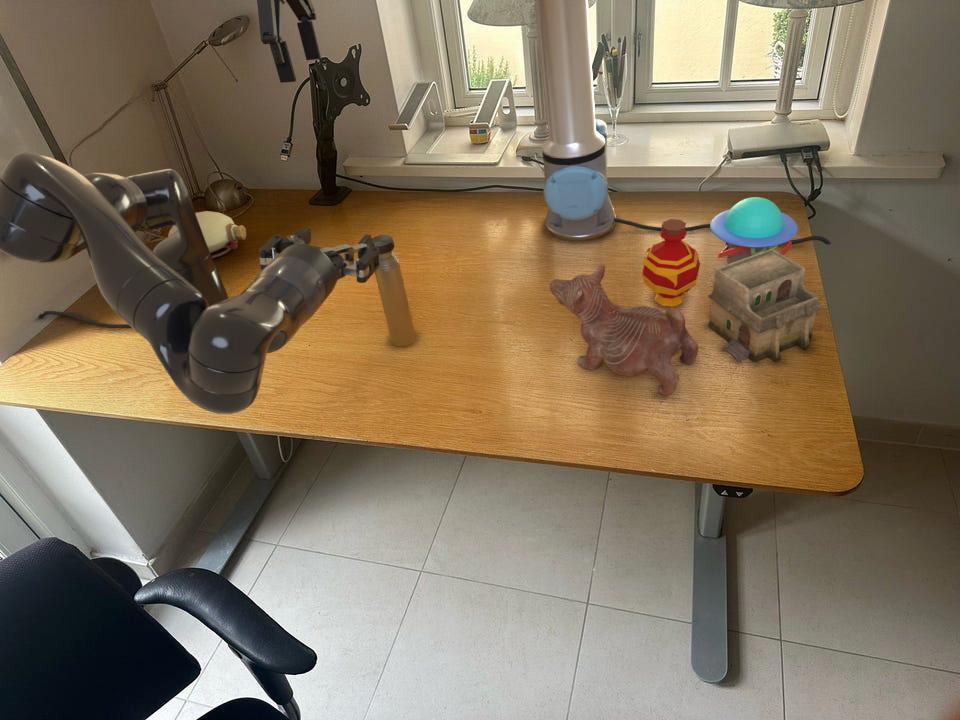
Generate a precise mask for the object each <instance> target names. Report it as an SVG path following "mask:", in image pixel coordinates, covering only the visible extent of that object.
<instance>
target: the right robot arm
mask: <svg viewBox="0 0 960 720" xmlns="http://www.w3.org/2000/svg"><path fill="white" fill-rule="evenodd" d="M533 1H534V9H535V19H536V30H537V39H538V49H539V58H540V66H541V67H540V68H541V76H542V87H543V94H544V104H545V114H546V123H547V132H548V134H547V135H548V137H547V139H546V140H545V142H543V144H542V146H541V152H542V162H543V164H542V165H543V173H544V185H543V189H542V190H543V191H542V192H543V196H544V201H545V204H546V206H547V207H548V209H547V213H546V216H545V229H546V232H547V233H548V234H549V236H550V235H551V236H552V237H553V238H556V239H558V240H561V241H567V242H586V241H587V242H588V241H594V240H597V239H600V238H604V237H605V236H607V235H608V234H610V233H611V232H613V230H614V229H615V227H616V223H618V224H623V225H626V226H627V225H628V226H631V227H635V228H638V229H641V230H642V229H643V230H648V231H655V232H661V231H662V226H653V225H646V224H641V223H638V222H634V221H631V220H626V219H622V218H618V217H617V216H616V212H615V209H614V205H613V204H612V200H611V198H610V195H609V185H608V137H609V133H608V126H607V123H606V122H605V121H604V120H601V119H600V118H596V113H595V111H596V110H595V99H594V78H593V68H592V67H593V66H592V65H593V64H592V49H591V34H590V20H589V19H590V18H589V17H590V16H589V2H588V1H589V0H533ZM256 3H257V4H256V5H257V13H258V24H259V34H260V35H259V36H260V41H261V42H262V44H263V45H269V48H270V51H271V54H272V58H273V61H274V64H275V68H276V72H277V75H278V79H279V83H280V84H284V83H294V82H296V81H297V78H296V77H297V76H296V74H295V70H294V66H293V62H292V58H291V56H290V51H289V48H288V44H287V41H286V40H284V39H283V38H284V34H283V33H284V32H283V31H284V5H285V4H287V5H288V6H289V8H290V10H291V11H292V12H293V14H294V15H295V17H296V18H297V20H298V22H297V23H296V25H297V29H298V33H299V37H300V41H301V44H302V49H303V53H304V56H305V60H306V61H314V60H321V59H322V56H321V53H320V47H319V44H318V43H319V42H318V40H317V36H316V32H315V27H314V23H313V21H316V20H317V14H316V11H315V7H314V5H313V3H312V0H256ZM703 229H710V223H703V224H698V225H693V226H685V230H686V232H692V231H696V230H703ZM790 241H791V242H792V244H791V245H797V244H803V243H805V242H806V243H807V242H810V241H819V242H822V243H823V244H825V245H831V244H832V243H831V241H830V240H829V239H828V238H826V237H824V236H822V235H811V236H806V237H802V238H797V239H790Z"/></svg>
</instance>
